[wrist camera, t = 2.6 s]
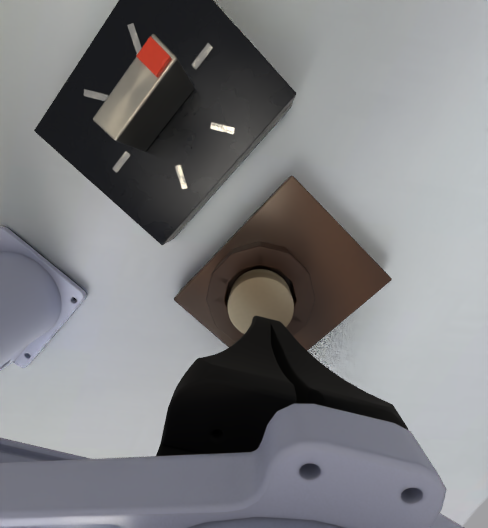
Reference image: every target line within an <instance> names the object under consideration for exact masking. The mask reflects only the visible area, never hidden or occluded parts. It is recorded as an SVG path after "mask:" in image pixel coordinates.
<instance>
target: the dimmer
mask: <svg viewBox="0 0 488 528" xmlns="http://www.w3.org/2000/svg"><path fill="white" fill-rule="evenodd" d="M152 34H155V35H156V36H157V37H158V38H159V39H160V40H161V41H162V42H163V43H164V45H165V46H166V47H167V48H168V49H169V50H170V51H171V52H172V53H173V54H174V55H175V56H176V57H177V59H178V60H179V62H180V64H181V66H182V67H183V69H184V71H185V72H186V74H187V76H188V78H189V79H190V81H191V83H192V85H193V86H194V90H193V91H192V92H191V94H190V95H189V96H188V97H187V99H186V100H185V101H184V103H183V104H182V105H181V106H180V108H179V109H178V110H177V111H176V113H175V114H174V115H173V117H172V118H171V119H170V120H169V122H168V123H167V124H166V126H165V127H164V128H163V129H162V131H161V132H160V133H159V135H158V136H157V137H156V138H155V140H154V141H153V142H152V143H151V145H150V146H149V147H148V149H147V150H146V151H145V152H144V151H141V150H139V149H136V148H133V147H131V146H128V145H125V144H123V143H120V142H117V141H115V140H114V139H113V138H112V137H110V136H109V135H108V134H107V133H106V132H105V131H104V130H103V129H102V128H101V127H100V126H99V125H98V124H97V123H96V122H94V120H93V118H94V116H95V115H96V113H97V112H98V110H99V109H100V108H101V106H102V105H103V103H104V102H105V101H106V99H107V98H108V96H109V95H110V93H111V92H112V91H113V89H114V88H115V86H116V85H117V83H118V82H119V81H120V79H121V78H122V76H123V75H124V74H125V72H126V71H127V69H128V68H129V66H130V65H131V64H132V62H133V61H134V59H135V58H136V56H137V54H138V53H139V51H140V50H141V48H142V47H143V46H144V44H145V43H146V41H147V40H148V38H149V37H150V36H151V35H152ZM295 95H296V92H295V91H294V90H293V89H292V88H291V87H290V86H289V85H288V83H287V82H286V81H285V80H284V79H283V78H282V77H281V76H280V75H279V73H278V72H277V71H276V70H275V69H274V68H273V67H272V66H271V65H270V63H269V62H268V61H267V60H266V59H265V58H264V57H263V56H262V55H261V53H260V52H259V51H258V50H257V49H256V48H255V47H254V46H253V45H252V43H251V42H250V41H249V40H248V39H247V38H246V37H245V36H244V35H243V33H242V32H241V31H240V30H239V29H238V28H237V27H236V26H235V25H234V23H233V22H232V21H231V20H230V19H229V18H228V17H227V16H226V15H225V13H224V12H223V11H222V10H221V9H220V8H219V7H218V6H217V5H216V3H215V2H214V1H213V0H119V2H118V3H117V5H116V6H115V8H114V9H113V11H112V12H111V14H110V15H109V17H108V18H107V20H106V21H105V23H104V25H103V26H102V28H101V29H100V31H99V32H98V34H97V35H96V37H95V38H94V40H93V41H92V43H91V44H90V46H89V48H88V49H87V51H86V52H85V54H84V55H83V57H82V58H81V60H80V61H79V63H78V64H77V66H76V67H75V69H74V70H73V72H72V74H71V75H70V77H69V78H68V80H67V81H66V83H65V84H64V86H63V87H62V89H61V90H60V92H59V93H58V95H57V97H56V98H55V100H54V101H53V103H52V104H51V106H50V107H49V109H48V110H47V112H46V113H45V115H44V116H43V118H42V120H41V121H40V123H39V124H38V126H37V127H36V129H35V130H34V131H35V132H36V133H37V134H38V135H39V136H41V137H42V138H43V139H44V140H45V141H46V142H47V143H48V144H49V145H51V146H52V147H53V148H54V149H55V150H56V151H57V152H58V153H60V154H61V155H62V156H63V157H64V158H65V159H66V160H67V161H68V162H70V163H71V164H72V165H73V166H74V167H75V168H76V169H77V170H79V171H80V172H81V173H82V174H83V175H84V176H85V177H86V178H87V179H89V180H90V181H91V182H92V183H93V184H94V185H95V186H96V187H98V188H99V189H100V190H101V191H102V192H103V193H104V194H105V195H107V196H108V197H109V198H110V199H111V200H112V201H113V202H114V203H115V204H117V205H118V206H119V207H120V208H121V209H122V210H123V211H124V212H126V213H127V214H128V215H129V216H130V217H131V218H132V219H133V220H134V221H136V222H137V223H138V224H139V225H140V226H141V227H142V228H143V229H145V230H146V231H147V232H148V233H149V234H150V235H151V236H152V237H153V238H155V239H156V240H157V241H158V242H159V243H160V244H161V245H163V244H165V243H167V242H169V241H171V240H173V239H174V238H175V237H176V236H177V235H178V233H179V232H180V231H181V230H182V229H183V228H184V227H185V226H186V225H187V223H188V222H189V221H190V220H191V219H192V218H193V217H194V216H195V214H196V213H197V212H198V211H199V210H200V209H201V208H202V207H203V205H204V204H205V203H206V202H207V201H208V200H209V199H210V198H211V196H212V195H213V194H214V193H215V192H216V191H217V190H218V189H219V187H220V186H221V185H222V184H223V183H224V182H225V181H226V180H227V178H228V177H229V176H230V175H231V174H232V173H233V172H234V171H235V170H236V168H237V167H238V166H239V165H240V164H241V163H242V162H243V161H244V159H245V158H246V157H247V156H248V155H249V154H250V153H251V152H252V150H253V149H254V148H255V147H256V146H257V145H258V144H259V143H260V141H261V140H262V139H263V138H264V137H265V136H266V135H267V134H268V132H269V131H270V130H271V129H272V128H273V127H274V126H275V125H276V124H277V122H278V121H279V120H280V119H281V118H282V117H283V116H284V115H285V113H286V112H287V111H288V110H289V109H290V108H291V105H292V103H293V100H294V98H295Z"/></svg>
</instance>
